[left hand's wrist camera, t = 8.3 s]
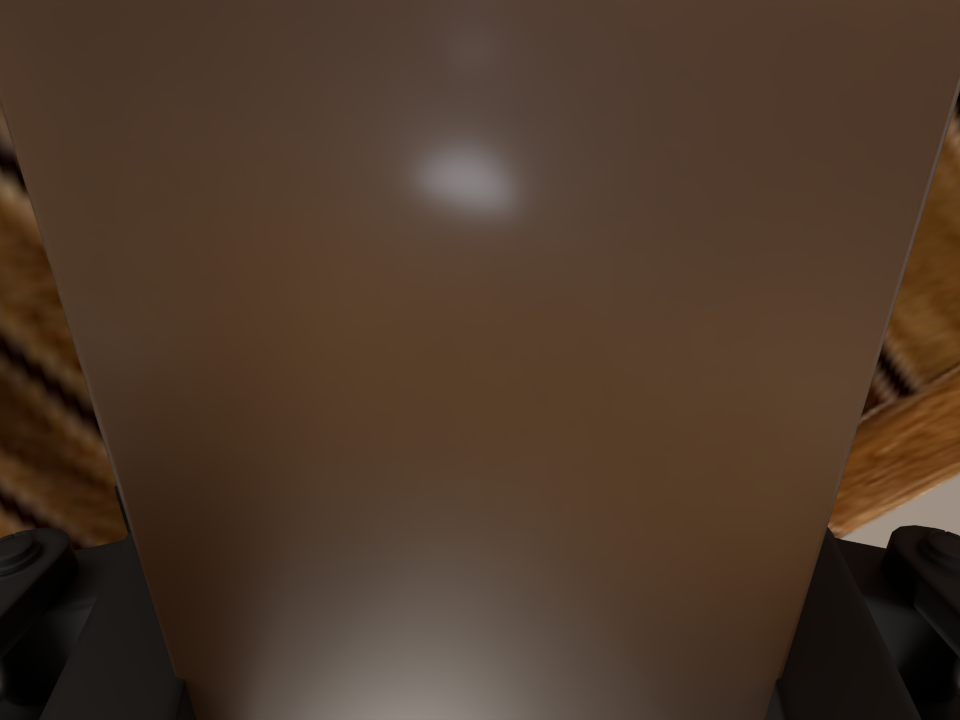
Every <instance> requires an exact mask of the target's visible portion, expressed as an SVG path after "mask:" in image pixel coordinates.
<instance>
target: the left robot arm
mask: <svg viewBox="0 0 960 720" xmlns="http://www.w3.org/2000/svg"><path fill="white" fill-rule="evenodd" d="M115 492H116V495H117V498H118V501H119V505H120V508H121V511H122V514H123V518H124V521H125V524H126V527H127V530H128V535H127V537H126V539H125V540H123V541H119V542H115V543H110V544H105V545H100V546H96V547H91V548H86V549H81V550H76V551H74V550H73V547H72V544H71V541H70V539H69V536H68V534H67V533H65V532H64V531H62V530H61V529H54V528H40V529H33V530H25V531H21V532H17V533H15V534H11V535H8V536H5V537H2V538H0V720H196V717H195V713H194V710H193V706H192V703H191V700H190V696H189V693H188V690H187V686H186V683H185V680H184V679H179V678H177V677H175V674H174V671H173V667H172V664H171V661H170V658H169V654H168V651H167V648H166V644H165V641H164V638H163V635H162V631H161V628H160V625H159V621H158V618H157V615H156V612H155V608H154V605H153V602H152V598H151V595H150V592H149V589H148V585H147V582H146V579H145V575H144V572H143V569H142V566H141V562H140V559H139V556H138V552H137V549H136V546H135V543H134V539H133V536H132V533H131V530H130V526H129V523H128V520H127V516H126V513H125V510H124V507H123V503H122V500H121V497H120V493H119V490H118V487H117V485H116V487H115ZM765 720H960V536H959V535H957V534H954V533H951V532H945V531H944V530H941V529H937V528H930V527H923V526H917V525H912V526H902V527H899V528H897V529H896V530H895V531H893V532H892V534H891V537H890V539H889V542H888V545H887V548H881V547H876V546H871V545H866V544H861V543H856V542H851V541H846V540H842V539H838V538H834V536H833V534H832V532H831V531H830V529H829V528H828V527H827V529H826V533H825V536H824V539H823V542H822V546H821V549H820V552H819V556H818V559H817V562H816V566H815V569H814V572H813V575H812V579H811V582H810V585H809V589H808V592H807V595H806V598H805V602H804V605H803V608H802V612H801V615H800V618H799V622H798V625H797V628H796V631H795V635H794V638H793V641H792V645H791V648H790V651H789V654H788V658H787V661H786V664H785V668H784V671H783V674H782V678H780V679H778V680H776V683H775V686H774V689H773V693H772V696H771V700H770V703H769V706H768V710H767V713H766V716H765Z"/></svg>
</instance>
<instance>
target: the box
mask: <svg viewBox="0 0 960 720" xmlns="http://www.w3.org/2000/svg"><path fill="white" fill-rule="evenodd" d="M959 91H960V0H0V103H1V106H2V109H3V112H4V116H5V119H6V122H7V126H8V129H9V132H10V135H11V139H12V142H13V145H14V149H15V152H16V155H17V158H18V162H19V165H20V168H21V172H22V175H23V178H24V181H25V185H26V188H27V191H28V195H29V198H30V201H31V204H32V208H33V211H34V214H35V218H36V221H37V224H38V227H39V231H40V234H41V237H42V241H43V244H44V247H45V250H46V254H47V257H48V260H49V264H50V267H51V270H52V273H53V277H54V280H55V283H56V287H57V290H58V293H59V296H60V300H61V303H62V306H63V309H64V313H65V316H66V319H67V323H68V326H69V329H70V332H71V336H72V339H73V342H74V346H75V349H76V352H77V355H78V359H79V362H80V365H81V369H82V372H83V375H84V378H85V382H86V385H87V388H88V392H89V395H90V398H91V401H92V405H93V408H94V411H95V415H96V418H97V421H98V424H99V428H100V431H101V434H102V438H103V441H104V444H105V447H106V451H107V454H108V457H109V461H110V464H111V467H112V470H113V474H114V477H115V480H116V484H117V487H118V490H119V493H120V497H121V500H122V503H123V507H124V510H125V513H126V516H127V520H128V523H129V526H130V530H131V533H132V536H133V539H134V543H135V546H136V549H137V552H138V556H139V559H140V562H141V566H142V569H143V572H144V575H145V579H146V582H147V585H148V589H149V592H150V595H151V598H152V602H153V605H154V608H155V612H156V615H157V618H158V621H159V625H160V628H161V631H162V635H163V638H164V641H165V644H166V648H167V651H168V654H169V658H170V661H171V664H172V667H173V671H174V674H175V677H177V678H179V679H184V680H185V683H186V686H187V690H188V693H189V696H190V700H191V703H192V706H193V710H194V713H195V717H196V720H765V716H766V713H767V710H768V706H769V703H770V700H771V696H772V693H773V689H774V686H775V683H776V680H778V679H780V678H782V674H783V671H784V668H785V664H786V661H787V658H788V654H789V651H790V648H791V645H792V641H793V638H794V635H795V631H796V628H797V625H798V622H799V618H800V615H801V612H802V608H803V605H804V602H805V598H806V595H807V592H808V589H809V585H810V582H811V579H812V575H813V572H814V569H815V566H816V562H817V559H818V556H819V552H820V549H821V546H822V542H823V539H824V536H825V533H826V529H827V526H828V523H829V519H830V516H831V513H832V510H833V506H834V503H835V500H836V496H837V493H838V490H839V486H840V483H841V480H842V477H843V473H844V470H845V467H846V463H847V460H848V457H849V454H850V450H851V447H852V444H853V440H854V437H855V434H856V430H857V427H858V424H859V421H860V417H861V414H862V411H863V407H864V404H865V401H866V398H867V394H868V391H869V388H870V384H871V381H872V378H873V374H874V371H875V368H876V365H877V361H878V358H879V355H880V351H881V348H882V345H883V342H884V338H885V335H886V332H887V328H888V325H889V322H890V318H891V315H892V312H893V309H894V305H895V302H896V299H897V295H898V292H899V289H900V286H901V282H902V279H903V276H904V272H905V269H906V266H907V262H908V259H909V256H910V253H911V249H912V246H913V243H914V239H915V236H916V233H917V230H918V226H919V223H920V220H921V216H922V213H923V210H924V206H925V203H926V200H927V197H928V193H929V190H930V187H931V183H932V180H933V177H934V174H935V170H936V167H937V164H938V160H939V157H940V154H941V150H942V147H943V144H944V141H945V137H946V134H947V131H948V127H949V124H950V121H951V118H952V114H953V111H954V108H955V104H956V101H957V98H958V94H959Z"/></svg>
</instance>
